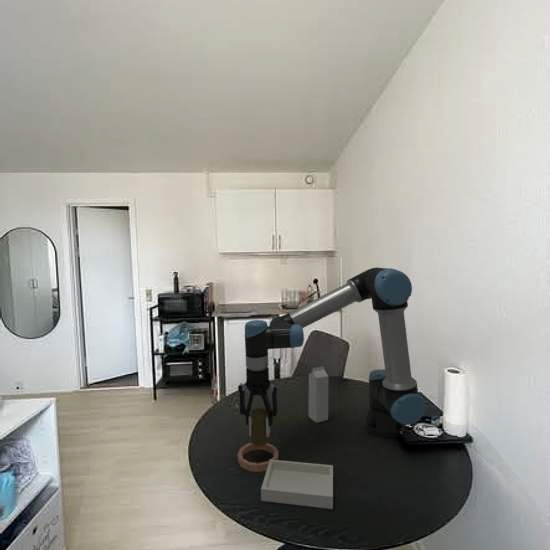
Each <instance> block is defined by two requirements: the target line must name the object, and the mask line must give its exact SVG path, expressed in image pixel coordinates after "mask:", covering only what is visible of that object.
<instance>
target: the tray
mask: <svg viewBox="0 0 550 550" xmlns="http://www.w3.org/2000/svg"><path fill="white" fill-rule="evenodd" d="M269 460H270V461H269ZM269 460H268V461H269V464H268V468H267V470H266V471H265V475H264V478H263V482H262V485H261V488H260V497H261V498H260V501H261V502H268V503H277V504H285V505H286V504H287V505H292V506H293V505H294V506H295V505H296V506H303V507H311V508H320V509H327V510H328V509H329V510H333V509H334V479H333V478H334V465H333V464H322V463H310V462H300V461H289V460H281V459H280V460H279V459H278V460H271V458H270V459H269Z"/></svg>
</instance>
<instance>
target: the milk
mask: <svg viewBox="0 0 550 550" xmlns="http://www.w3.org/2000/svg"><path fill="white" fill-rule="evenodd" d="M326 371H327V370H325V366H324V365H323V366H317V367H313V368H312V370H311V372H309V373H308V418H310V419H311V420H312V421H313V422H314V423H315V424H316V423H320V422H321V423H322V422H324V421H325V422H326V421H328V420H329V375H328V373H327V372H326Z"/></svg>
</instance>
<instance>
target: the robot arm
mask: <svg viewBox="0 0 550 550" xmlns="http://www.w3.org/2000/svg"><path fill="white" fill-rule="evenodd" d="M412 291H413V286H412V282H411V279H410V278H409V276H408V275H407V274H405V273H404V272H403V271H401V270H398V269H395V268H390V267H389V268H385V267H371V268H368V269H367V270H364V271H362V272H360V273H358V274H357V275H354V276H353V277H351V278H349V279H347V281H346V283H345V284H343V285H340V286H339V287H337V288H335V289H332V290H331V291H329V292H328V293H324V294H323V295H322V296H319V297H318V298H315V299H314V300H311V301H310V302H308V303H306V304H303V305H302V306H300V307H298V308H296V309H295V308H294V310H291V311H290V312H287V313H286V314H283V315H282V316H281V315H279V316H278V315H277V316H274V317H273V318H271V320H270V322H269V325H268V323H267V321H266V320H263V319H260V320H259V319H255V320H249V321H246V323H245V325H244V346H245V349H244V350H245V368H246V369H245V371H246V372H245V376H246V379H245V380H246V381H245V383H241V382H240V383H239V384H238V386H237V389H238V393H239V414H240V415H244V416H245V424H246V426H248V433H249V437H252V427H253V419H252V417H251V413H252V407H253V402H254V398H255V396H261V399H262V402H263V405H264V407H265V408H264V409H265V410H266V412H267V416H266V419H265V420H266V437H268V438H270V434H271V427H273V422H274V420H273V419H274V418H273V417H276V416H277V415H278V412H279V411H278V409H279V408H278V407H279V406H278V393H277V392H278V388H279V385H278V384H272V383H271V381H270V370H269V350H274V349H276V350H277V349H278V350H279V349H294V348H301V347H302V346H303V345H304V342H305V337H304V335H305V334H304V328H306V327H308V326H311V325H312V324H314V323H316V322H318V321H320V320H322V319H324V318H326V317H327V316H330V315H332V314H334V313H336V312H338V311H340V310H341V309H344V308H346V307H348V306H349V305H352V304H354V303H361V302H364V301H366V300H370V299H371V303H372V304H371V305H372V310H373V311H375V313H377V317H378V324H379V325H378V326H379V332H380V341H381V347H382V355H383V363H384V369H382V368H381V369H372V370H371V371H370V372H369V376H368V408H367V411H366V414H365V417H364V419H363V426H364V427H363V428H364V429H365V430H366V431H367V433H370V434H372V435H373V436H377V437H380V438H381V437H382V438H388V439H389V438H390V439H393V438H397V437H400V436H399V432H400V431H402V430H403V428H404V429H405V426H409V425H414V424H416V423H418V422H419V421H420V420H421V418H422V417H423V416H424V415H425V412H426V405H427V404H426V402H425V400H424V398H423V397H422V396H421V395H420V394H419V390H418V382H417V380H416V379H415V378H414V377H412V371H411V361H410V360H411V359H410V354H409V353H410V352H409V345H408V344H409V343H408V338H407V336H408V334H407V328H406V320H405V310H406V309H407V308H408V307H409V304H408V300H409V299H410V297H411V295H412ZM246 389H247V390H248V391H249V397H248V402H247V406H246ZM269 389H270V392H272V393H271V398H272V399H271V400H272V402H271V403H272V405H271V403H270V399H269V396H268V390H269ZM271 406H272V407H271Z"/></svg>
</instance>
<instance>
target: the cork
mask: <svg viewBox="0 0 550 550" xmlns="http://www.w3.org/2000/svg"><path fill="white" fill-rule="evenodd" d="M250 413H251V417H252V419H253V427H252V436H251V441H250V443H252V444H253V445H255V446H263V445H266V444H267V443H269V442H270V441H269V439H270V437H266V416H267V412H266V408H263V407H256V408H254V409H252V410H251V412H250Z"/></svg>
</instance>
